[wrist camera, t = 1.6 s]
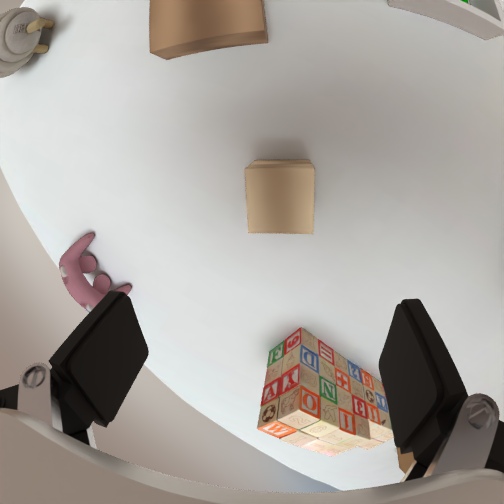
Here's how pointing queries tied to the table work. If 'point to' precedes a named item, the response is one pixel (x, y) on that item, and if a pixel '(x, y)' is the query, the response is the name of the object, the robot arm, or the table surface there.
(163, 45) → the base block
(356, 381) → the stack of blocks
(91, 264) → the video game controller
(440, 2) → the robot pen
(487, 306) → the table surface
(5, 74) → the toy sheep
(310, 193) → the oak block
